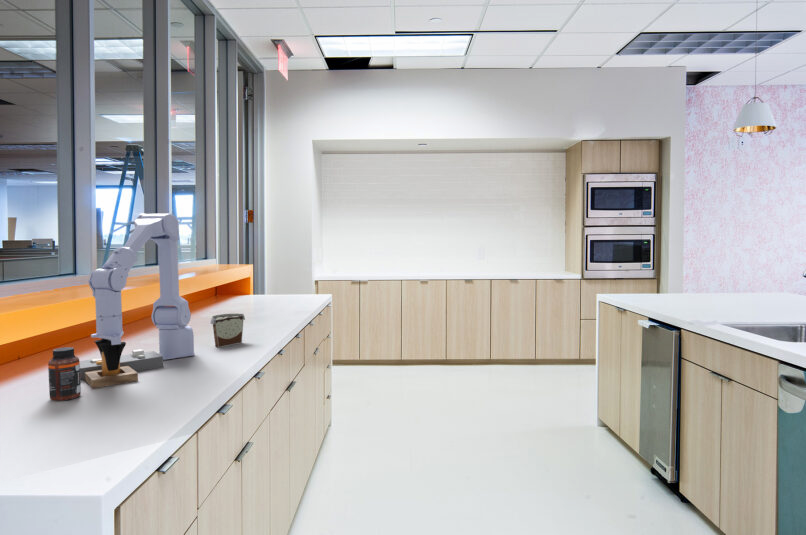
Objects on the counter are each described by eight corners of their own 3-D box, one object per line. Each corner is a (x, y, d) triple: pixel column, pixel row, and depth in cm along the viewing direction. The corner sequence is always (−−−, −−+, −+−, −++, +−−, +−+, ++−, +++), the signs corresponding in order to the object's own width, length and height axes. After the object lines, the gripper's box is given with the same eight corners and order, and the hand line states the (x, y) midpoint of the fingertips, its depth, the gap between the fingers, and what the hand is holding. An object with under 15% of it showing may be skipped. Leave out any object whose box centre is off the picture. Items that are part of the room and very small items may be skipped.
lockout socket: (128, 372, 135) (127, 365, 135) (138, 380, 128) (137, 372, 128) (84, 379, 129) (84, 372, 128) (92, 388, 121) (92, 380, 121)
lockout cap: (118, 371, 131) (117, 349, 131) (121, 375, 128) (121, 351, 128) (100, 374, 128) (99, 351, 128) (103, 377, 125) (103, 354, 125)
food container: (234, 340, 179) (234, 312, 178) (245, 342, 175) (244, 313, 175) (203, 346, 169) (202, 316, 168) (214, 348, 165) (213, 318, 165)
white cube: (102, 367, 137) (101, 358, 137) (103, 368, 136) (103, 359, 135) (91, 368, 136) (91, 359, 136) (93, 370, 134) (93, 361, 134)
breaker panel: (153, 360, 148) (153, 348, 148) (163, 366, 141) (162, 354, 141) (74, 373, 135) (73, 359, 135) (79, 380, 128) (79, 366, 128)
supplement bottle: (87, 395, 116) (85, 347, 115) (62, 403, 110) (60, 352, 110) (68, 392, 118) (66, 345, 117) (43, 400, 112) (41, 350, 112)
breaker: (141, 357, 144) (141, 349, 144) (144, 359, 142) (143, 350, 142) (132, 359, 142) (132, 350, 142) (134, 360, 140) (134, 351, 140)
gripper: (85, 313, 130) (87, 365, 131) (96, 320, 119) (98, 377, 120) (116, 311, 135) (117, 361, 135) (129, 317, 124) (131, 371, 125)
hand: (110, 368), depth 128 cm, fingers closed on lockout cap, 4 cm apart
